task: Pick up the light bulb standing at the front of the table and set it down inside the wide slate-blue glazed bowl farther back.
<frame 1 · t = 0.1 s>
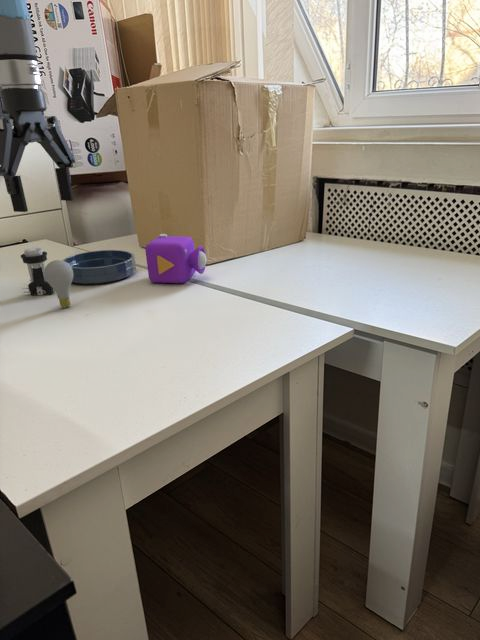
hand: (45, 205, 103), 20 cm above the table, tool pointing down, fingers open, 13 cm apart
light bulb: (66, 308, 105), on the table
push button: (39, 294, 114), on the table
bowl: (100, 275, 126), on the table
toy camera: (180, 279, 121), on the table
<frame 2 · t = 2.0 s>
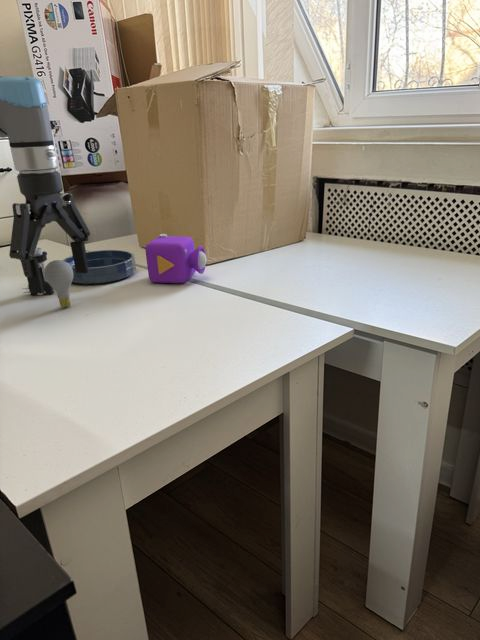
hand: (61, 282, 103), 6 cm above the table, tool pointing down, fingers open, 13 cm apart
nothing on the table moved.
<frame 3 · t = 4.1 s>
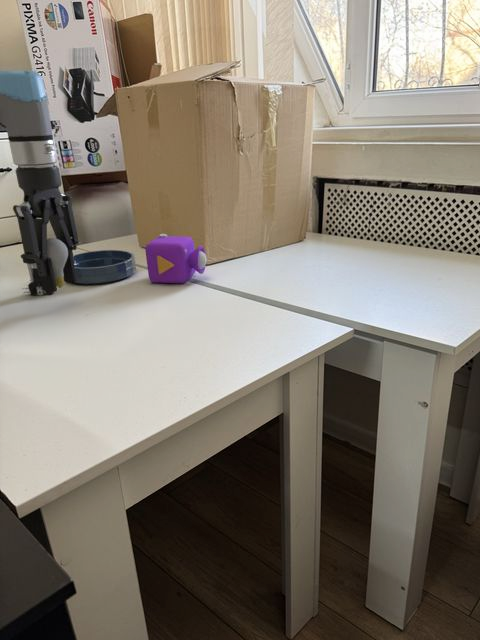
hand: (60, 285, 103), 5 cm above the table, tool pointing down, fingers closed on light bulb, 5 cm apart
light bulb: (60, 288, 104), point 4 cm above the table, touching gripper
everything else where it was.
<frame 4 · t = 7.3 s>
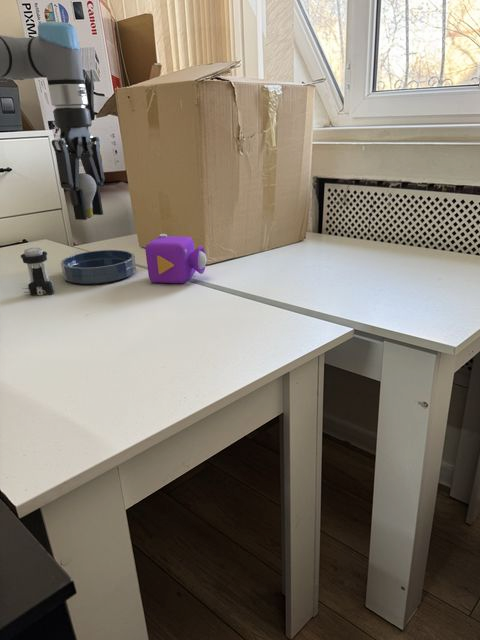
hand: (89, 216, 119), 14 cm above the table, tool pointing down, fingers closed on light bulb, 5 cm apart
light bulb: (89, 218, 119), point 14 cm above the table, touching gripper
everything else where it was.
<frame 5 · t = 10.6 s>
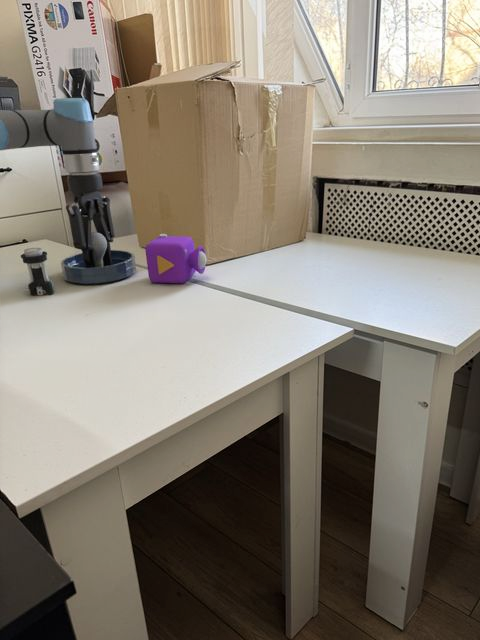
hand: (100, 271, 126), 1 cm above the table, tool pointing down, fingers closed on light bulb, 5 cm apart
light bulb: (100, 273, 126), resting on bowl, touching gripper
everything else where it was.
when the fingers open (2 cm above the table, at t = 11.3 s): light bulb stays where it is, resting on bowl.
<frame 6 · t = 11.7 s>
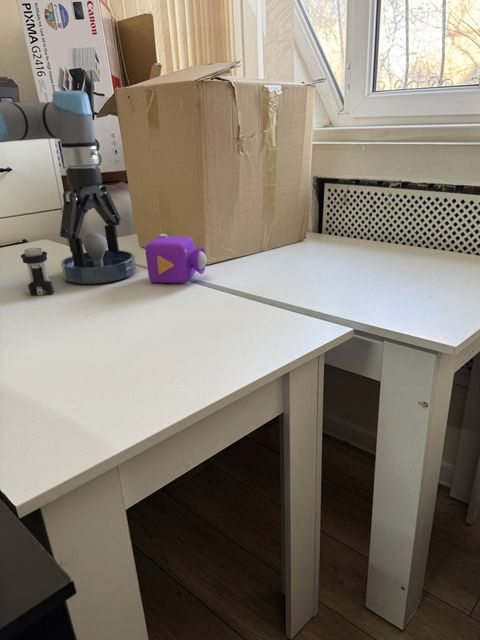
hand: (97, 258, 124), 4 cm above the table, tool pointing down, fingers open, 13 cm apart
light bulb: (100, 273, 126), resting on bowl
everything else where it was.
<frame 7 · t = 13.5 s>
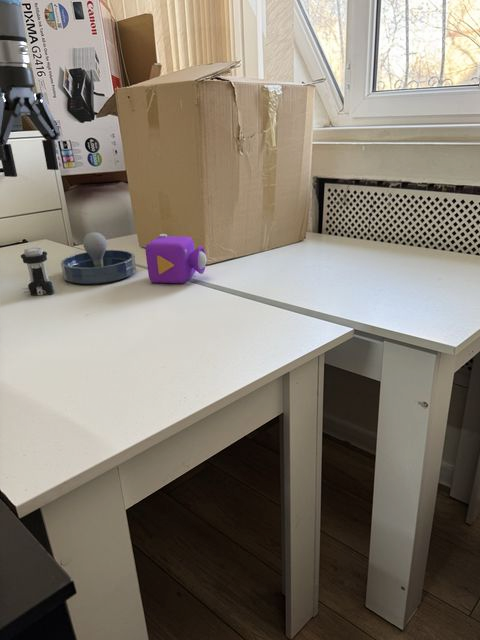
hand: (33, 173, 115), 25 cm above the table, tool pointing down, fingers open, 13 cm apart
nothing on the table moved.
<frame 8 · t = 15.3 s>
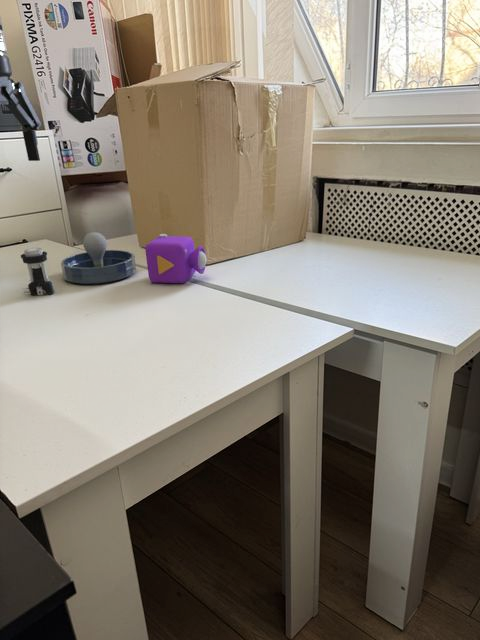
hand: (12, 163, 114), 27 cm above the table, tool pointing down, fingers open, 13 cm apart
nothing on the table moved.
at the end: light bulb inside the target area in the bowl (0.1 cm from its centre), point 0.4 cm above the bowl's base; the gripper is holding nothing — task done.
